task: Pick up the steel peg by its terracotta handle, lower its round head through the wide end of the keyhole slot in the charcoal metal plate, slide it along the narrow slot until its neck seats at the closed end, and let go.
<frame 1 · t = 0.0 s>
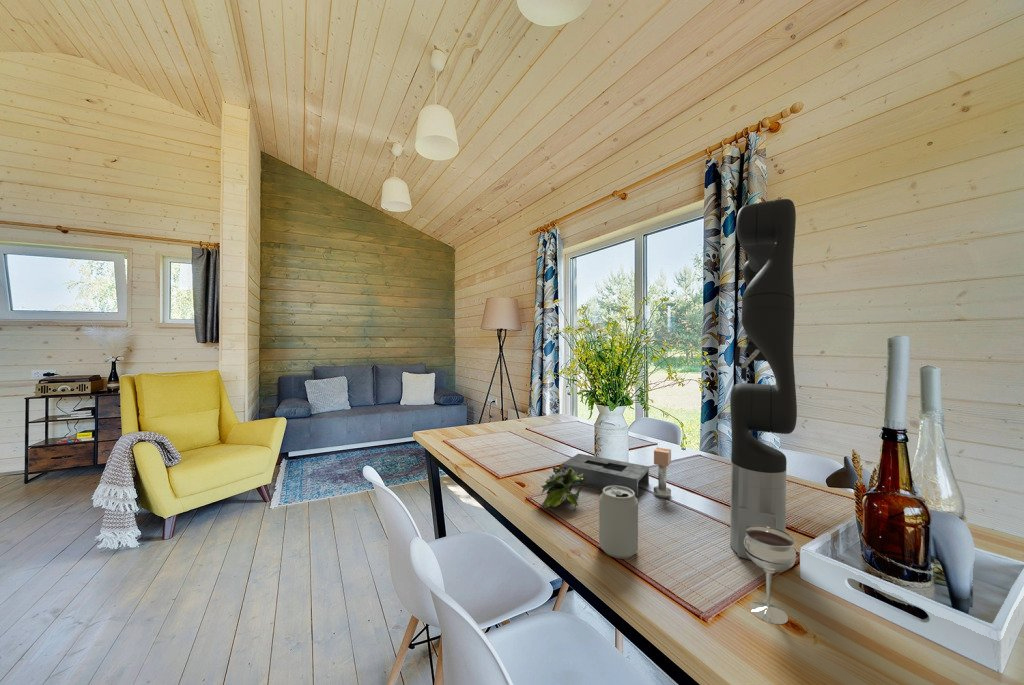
hand: (762, 381, 114), 29 cm above the table, tool pointing down, fingers open, 8 cm apart
wineglass: (768, 613, 60), on the table
can: (618, 551, 77), on the table
keyhole plate: (604, 482, 113), on the table
leafy green plant: (565, 505, 98), on the table
peg: (662, 494, 104), on the table
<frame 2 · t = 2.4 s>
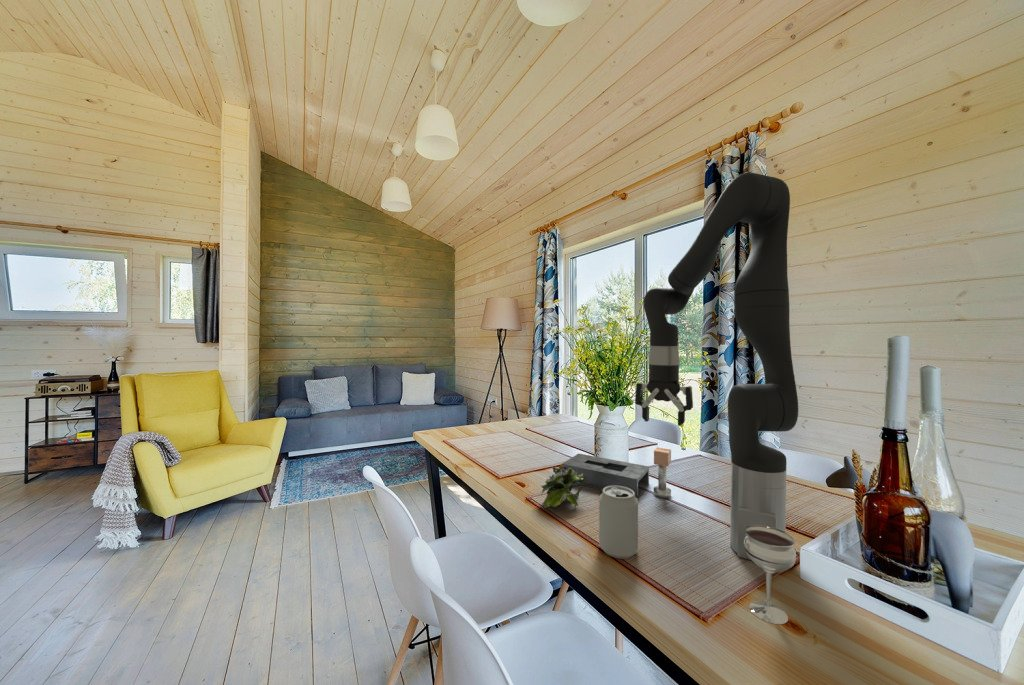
hand: (663, 423, 104), 19 cm above the table, tool pointing down, fingers open, 8 cm apart
nothing on the table moved.
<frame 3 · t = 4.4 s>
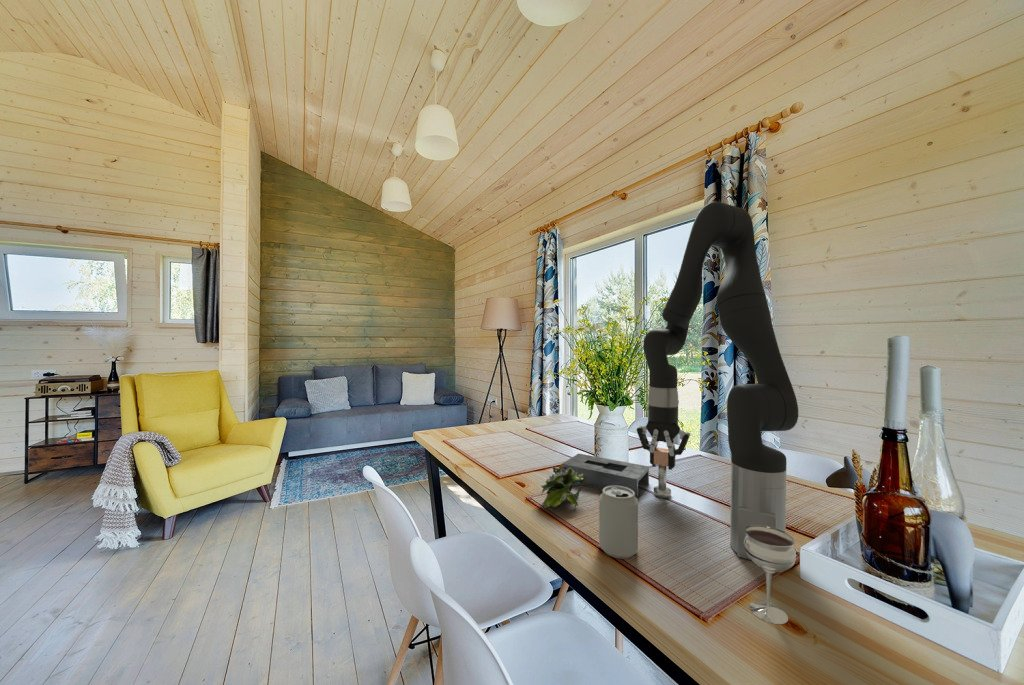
hand: (662, 467, 104), 7 cm above the table, tool pointing down, fingers closed on peg, 3 cm apart
peg: (662, 494, 104), on the table, touching gripper
everything else where it was.
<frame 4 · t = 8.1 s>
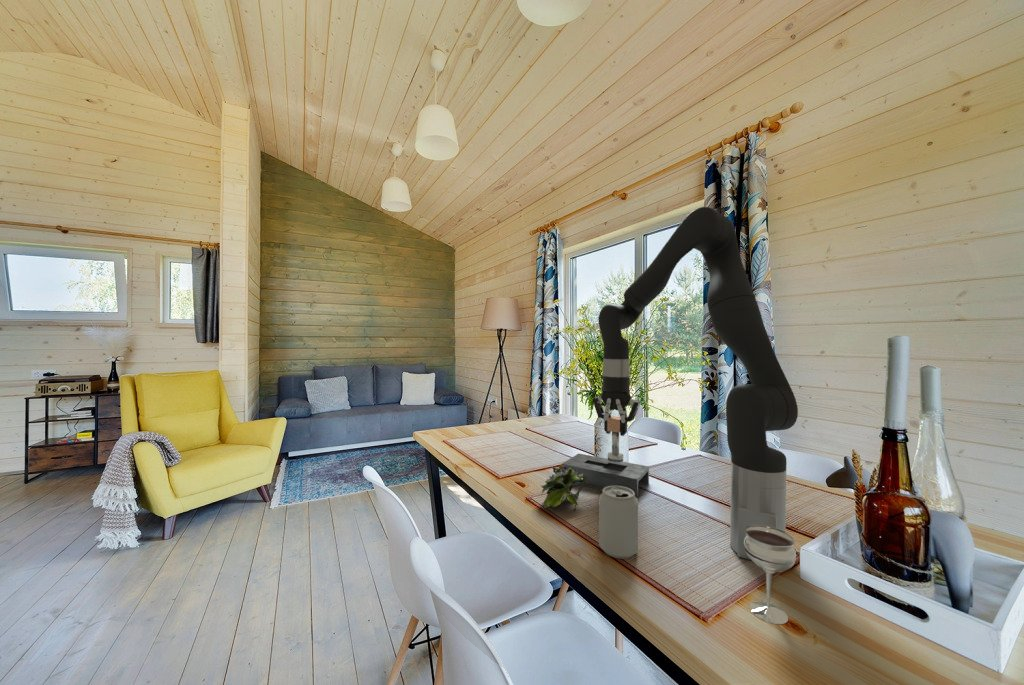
hand: (615, 433, 111), 15 cm above the table, tool pointing down, fingers closed on peg, 3 cm apart
peg: (615, 459, 111), point 7 cm above the table, touching gripper
everything else where it was.
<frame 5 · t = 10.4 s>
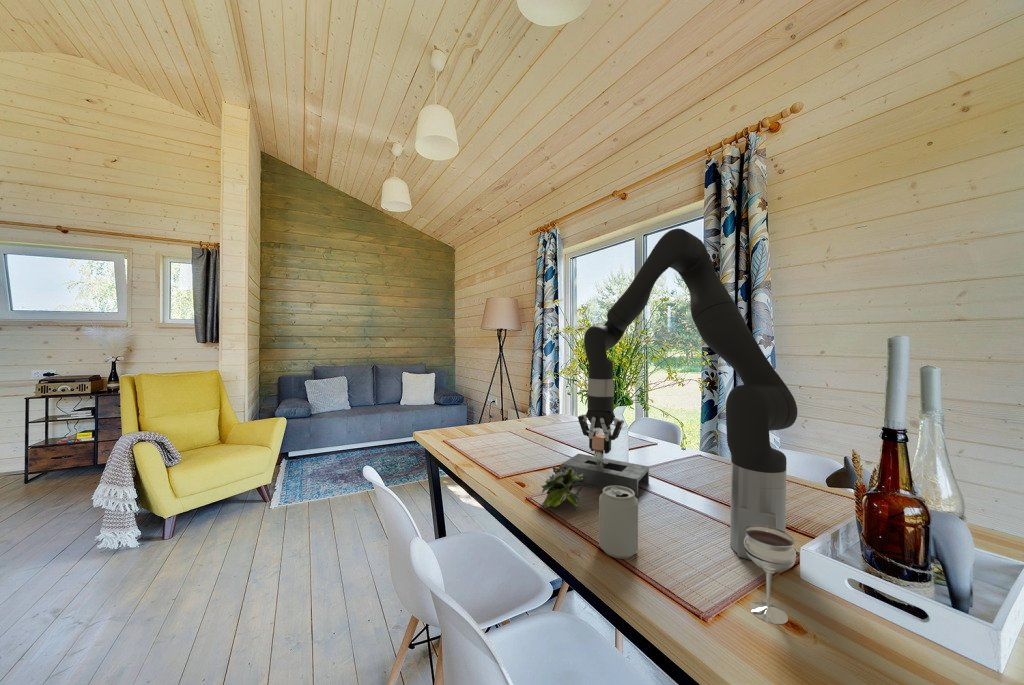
hand: (600, 451, 114), 9 cm above the table, tool pointing down, fingers closed on peg, 3 cm apart
peg: (599, 476, 114), point 1 cm above the table, touching gripper
everything else where it was.
when the fingers open (8 cm above the table, at t = 12.1 s): peg stays where it is, on the table.
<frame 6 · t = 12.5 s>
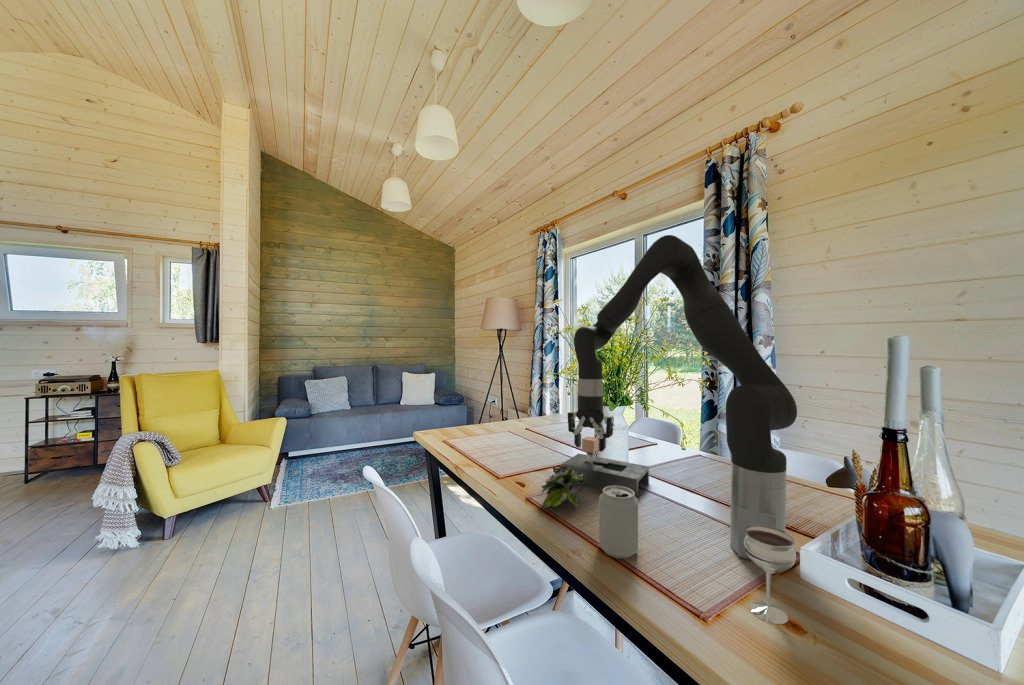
hand: (589, 448, 115), 9 cm above the table, tool pointing down, fingers open, 6 cm apart
peg: (590, 478, 115), on the table
everything else where it was.
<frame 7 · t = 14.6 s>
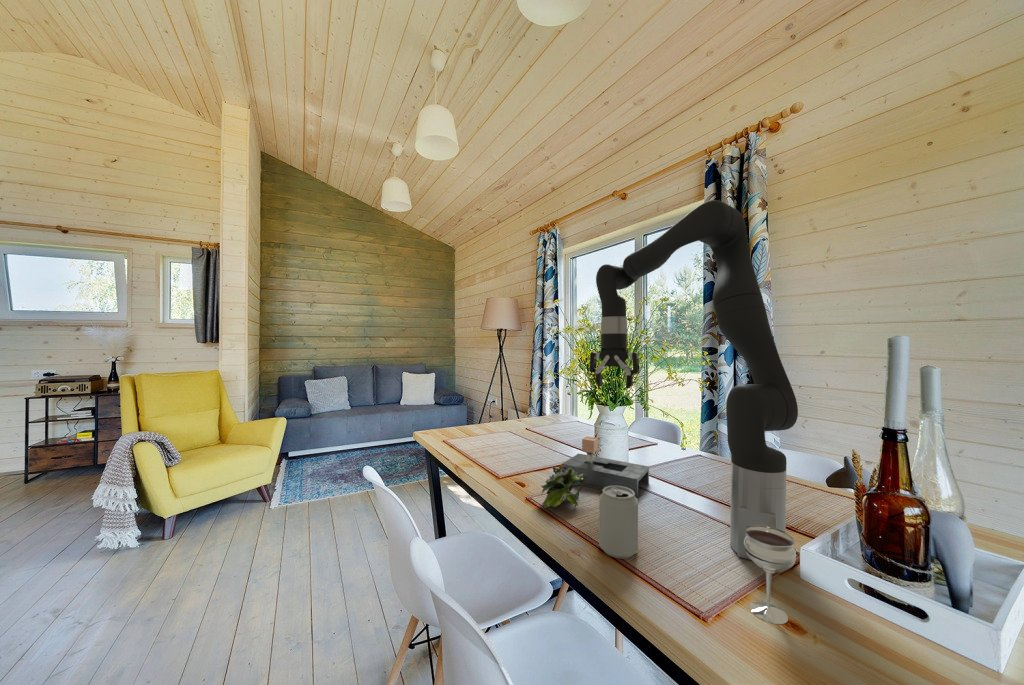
hand: (613, 387, 114), 28 cm above the table, tool pointing down, fingers open, 8 cm apart
nothing on the table moved.
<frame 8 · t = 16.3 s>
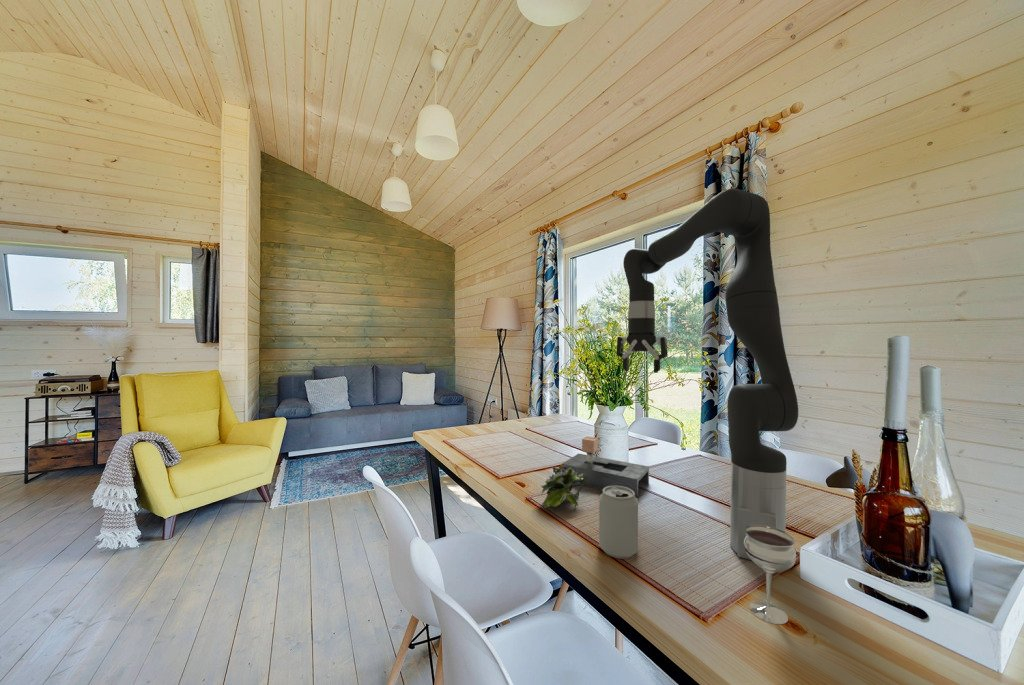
hand: (641, 371, 114), 32 cm above the table, tool pointing down, fingers open, 8 cm apart
nothing on the table moved.
at the end: peg 0.0 cm from the target spot on the keyhole plate, point 0.0 cm above the keyhole plate's base; peg tilted 0°; the gripper is holding nothing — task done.
